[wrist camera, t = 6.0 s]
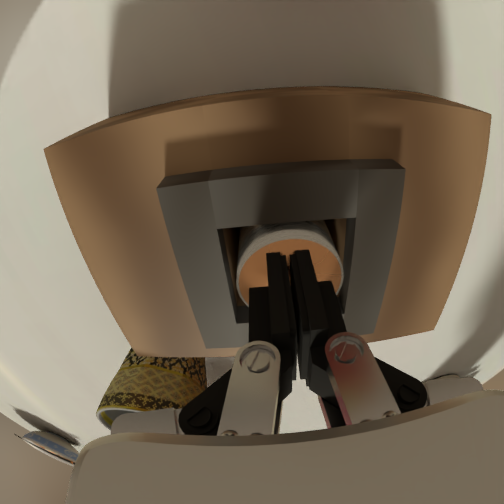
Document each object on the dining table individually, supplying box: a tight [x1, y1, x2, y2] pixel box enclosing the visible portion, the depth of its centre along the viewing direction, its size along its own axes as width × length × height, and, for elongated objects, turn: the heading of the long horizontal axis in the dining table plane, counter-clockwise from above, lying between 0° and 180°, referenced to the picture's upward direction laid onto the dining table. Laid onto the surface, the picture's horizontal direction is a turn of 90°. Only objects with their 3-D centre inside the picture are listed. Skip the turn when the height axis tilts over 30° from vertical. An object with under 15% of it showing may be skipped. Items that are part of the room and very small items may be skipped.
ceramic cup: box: [96, 348, 207, 430], centre depth 24 cm, size 13×10×10 cm
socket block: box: [44, 86, 491, 357], centre depth 15 cm, size 20×14×8 cm
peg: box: [236, 220, 344, 307], centre depth 15 cm, size 4×4×8 cm
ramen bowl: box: [18, 431, 79, 466], centre depth 59 cm, size 25×23×8 cm
